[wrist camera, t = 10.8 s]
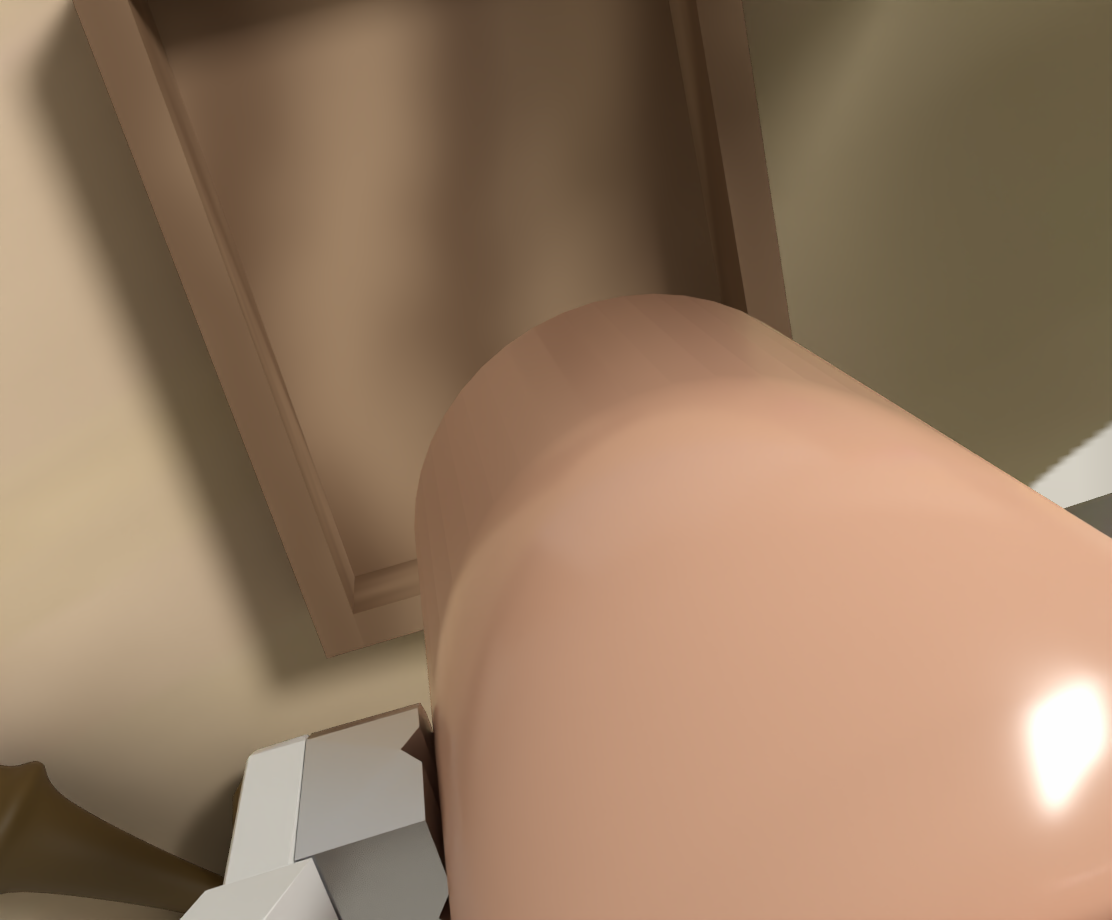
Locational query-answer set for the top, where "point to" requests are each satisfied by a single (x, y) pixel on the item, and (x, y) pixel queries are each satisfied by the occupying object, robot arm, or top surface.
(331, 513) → the tray
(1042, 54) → the top surface
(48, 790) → the kendama
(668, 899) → the peach rounded capsule
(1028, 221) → the top surface
